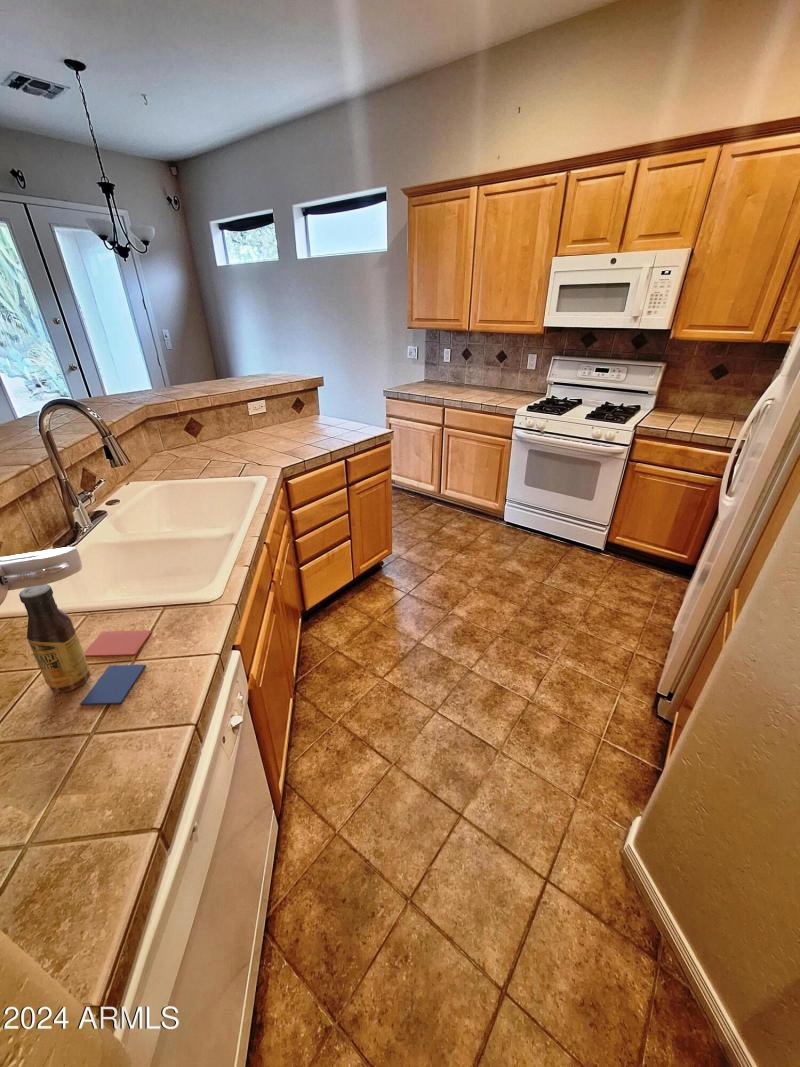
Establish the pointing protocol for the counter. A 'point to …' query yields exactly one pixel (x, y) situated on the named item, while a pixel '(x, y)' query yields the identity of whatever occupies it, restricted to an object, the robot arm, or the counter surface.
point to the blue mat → (113, 685)
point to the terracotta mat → (117, 643)
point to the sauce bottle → (54, 640)
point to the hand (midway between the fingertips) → (16, 562)
